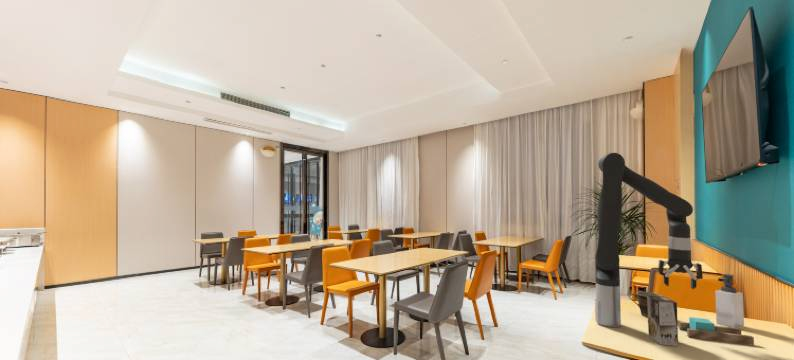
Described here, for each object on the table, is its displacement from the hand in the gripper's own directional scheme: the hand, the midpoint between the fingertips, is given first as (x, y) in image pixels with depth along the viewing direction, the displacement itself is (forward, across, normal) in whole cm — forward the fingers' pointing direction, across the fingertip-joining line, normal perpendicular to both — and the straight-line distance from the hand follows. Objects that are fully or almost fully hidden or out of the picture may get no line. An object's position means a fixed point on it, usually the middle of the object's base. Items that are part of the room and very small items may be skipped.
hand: (679, 287), depth 145 cm
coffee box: (+19, -9, -14) cm, 25 cm away
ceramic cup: (+19, -8, +19) cm, 28 cm away
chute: (+18, +11, 0) cm, 21 cm away
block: (+18, +7, 0) cm, 20 cm away
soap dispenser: (+18, +22, +19) cm, 34 cm away
